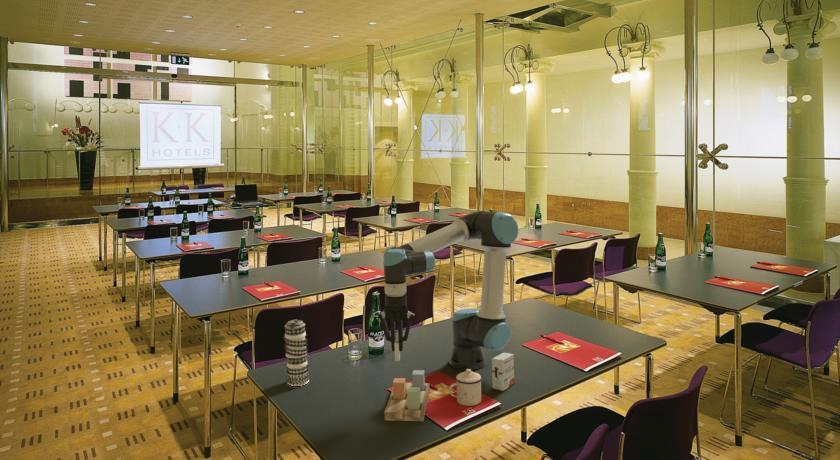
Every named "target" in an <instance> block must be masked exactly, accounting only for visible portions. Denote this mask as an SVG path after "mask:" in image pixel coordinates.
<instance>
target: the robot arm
mask: <svg viewBox="0 0 840 460" xmlns="http://www.w3.org/2000/svg"><path fill="white" fill-rule="evenodd" d="M518 235H519V224H518V223H517V220H516V219H515V217H514V216H513V215H512V214H509V213H506V212H502V211H488V210H477V211H473V212H471V213H468V214H465V215H463V216H460V217H458V218H456V219H454V220H453V222H452V223H451V224H449V225H447V226H444V227H442V228H439V229H437V230H435V231H433V232H430V233H428V234H425V235H424V236H421V237H418V238H417V239H415V240H411V241H409V242H408V243H407V242H406V243H405V244H402V245H399V246H389V247H388V248H386V249H385V250H384V253H383V262H382V263H383V273H384V274H383V276H384V277H383V278H384V279H383V280H384V281H383V282H384V283H383V284H384V294H385V295H384V309H383V310H382V312H379V313H378V314H377V318H378V320H380V323H381V326H382V330H383V334H384V337H385V340H386V342H390V343H391V345H390V346H391V351H392V352H394V361H395V362H400V360H401V352H403V350H404V342H407V341H408V338H409V334H410V329H411V326H412V325H411V324H412V321H413V319H414V318H415V315H416V314H415V313H414V312H412V311H409V308H408V300H407V298H408V297H407V276H412V275H419V274H425V273H426V274H427V273H428V272H432V271H433V270H434V269H435V266H436V257H435V255H434V253H436V252H439V251H441V250H443V249H446V248H448V247H450V246H452V245H454V244H456V243H458V242H463V243H464V242H467V241H470V240H480V246H481V247H482V248H483V250H484V251H483V252H484V255H483V268H482V282H481V283H482V284H481V297H480V308H462V309H458V310H455V311H454V313H452V341H453V342H452V348H451V351H450V355H449V359H448V360H449V365H450V367H452V368H454V369H456V370H461V371H466V369H471V371H473V370H475V371H476V370H479V369H482V368H483V367H485V366H486V364H487V363H486V362H487V361H486V356H485V354H484V350H483V348H484V349H485V350H489V351H492V352H495V351H497V352H498V351H501V350H503V349H504V348H505V347H506V345H508V344H509V341H510V339H511V335H512V329H511V327H510V325H508V323H506V321H507V320H506V319H507V315H505V313H504V312H503V309H504V308H503V306H504V305H503V304H504V292H505V291H504V290H505V277H506V266H507V265H506V263H507V252H508V251H509V250H510V249H511V247H512V243H514V242H515V241H516V239H518ZM406 315H407V321H406V327H405V330H403V329H404V328H403V321H404V320H403V319H404V318H405V317H406ZM386 317H387V318H388V319H389V321H390V329H389V326H388V323H387V319H386ZM396 322H397V333H398V334H397V333H396ZM403 331H405V332H403ZM396 334H397V335H398V336H397V335H396ZM396 336H397V337H398V340H396V339H397V337H396Z"/></svg>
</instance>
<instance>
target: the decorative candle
mask: <svg viewBox="0 0 840 460" xmlns="http://www.w3.org/2000/svg"><path fill="white" fill-rule="evenodd" d="M306 325H307V324H306V322H304V321H303V320H301V319H297V318H296V319H291V320H288V321H287V322H286V324H285V325H284V331H285V333H284V335H283V343H284V353H285V357H286V367H285V369H286V373H287V374H286V378H287V379H286V382H287V385H288V384H289V385H291V386H301V387H303V386H302V385H305V384H307V383H308V382H309V383H310V376H309V374H310V373H309V370H310V369H309V364H308V359H307V355H308V349H309V348H308V347H307V346H308V345H309V344H308V338H306V337H307V336H309V334H308V333H306ZM309 383H308V384H309ZM308 384H307V385H308ZM291 386H290V387H291ZM305 386H306V385H305Z"/></svg>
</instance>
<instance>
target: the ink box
mask: <svg viewBox="0 0 840 460" xmlns="http://www.w3.org/2000/svg"><path fill="white" fill-rule="evenodd" d="M514 359H515V355H514V353H510V352H502V353H500V354H497V355H496V356H494V357H491V379H492V380H491V382H492V385H491V386H492V389H494V390H498V391H501V392H503V391H505V390H507V389H508V388H510V387H512V386H513V385H514V384H515V360H514Z"/></svg>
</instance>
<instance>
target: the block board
mask: <svg viewBox="0 0 840 460" xmlns="http://www.w3.org/2000/svg"><path fill="white" fill-rule="evenodd" d="M408 387H413V382H406V397H405V400H395V399H393V389H392V390H391V392H390V395H389V399H388V401H387V404H386V405H385V409H384V412H383V413H384V415H383V416H384V421H387V422H388V421H393V422H394V421H396V422H398V421H400V422H424V420H425V415H426V410H427V405H428V401H429V395H430V392H431V391H430V390H431V389H430V382H425V388H424V391H420V400H421V405H420V409H419V410H408V406H407V390H408Z"/></svg>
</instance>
